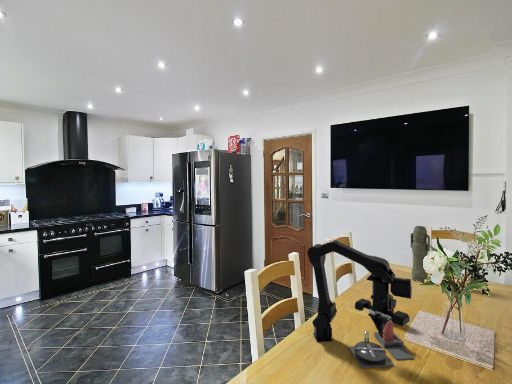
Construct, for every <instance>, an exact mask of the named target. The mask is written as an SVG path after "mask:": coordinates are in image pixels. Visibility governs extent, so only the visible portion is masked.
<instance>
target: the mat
mask: <svg viewBox="0 0 512 384" xmlns="http://www.w3.org/2000/svg"><path fill="white" fill-rule="evenodd" d="M385 350H387V351H388V353H390V356H392V357H393V359H395V361H402V360H404V361H405V360H415V357H414V356H413V355H412V354H411V353H410V352H409V350H407V349H406V348H405V347H390V348H385Z"/></svg>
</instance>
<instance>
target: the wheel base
mask: <svg viewBox="0 0 512 384" xmlns="http://www.w3.org/2000/svg"><path fill="white" fill-rule="evenodd" d="M347 348H348V350H349V351H350V353H351V354H352V356H353V357H354V360H356V362H357V364H358V365H359V366H360V368H361V369H368V368H369V369H370V368H383V367H384V368H385V367H386V368H387V367H395V363H393V361H392V360H391V359H390V358H389V357H388V356H387V354H386V358H385V359H384V360H383V361H380V362H371V361H367V360H364V359H362V358H361V357H359V356H358V355H357V354H356V353H355V345H350V346H348V347H347Z"/></svg>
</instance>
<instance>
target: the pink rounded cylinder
mask: <svg viewBox="0 0 512 384" xmlns="http://www.w3.org/2000/svg"><path fill="white" fill-rule="evenodd" d="M383 332H384V334H383V340H384V341H385V342H386V341H395V340H394V336H393V332H394V325H393V322H392V321H391V320H390V321H388V322H387V323H386V326H385V328H384V330H383Z"/></svg>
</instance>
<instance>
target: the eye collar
mask: <svg viewBox="0 0 512 384" xmlns="http://www.w3.org/2000/svg"><path fill="white" fill-rule="evenodd" d="M373 334H374V338H375V339H376V341H377V342H378V343H379V345H380V346H381V347H383V348H384V349H386V348H390V347H404V346H405V345H404V341H403V340H402V339H401V338H400V337H399V336H398V334H396V333H395V332H394V331H393V336H394V341H386V342H385V341H384V340H383V334H384V331H383V333H382V334H380V333H379V332H378V331H375V332H374V333H373ZM404 348H405V347H404Z"/></svg>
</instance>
